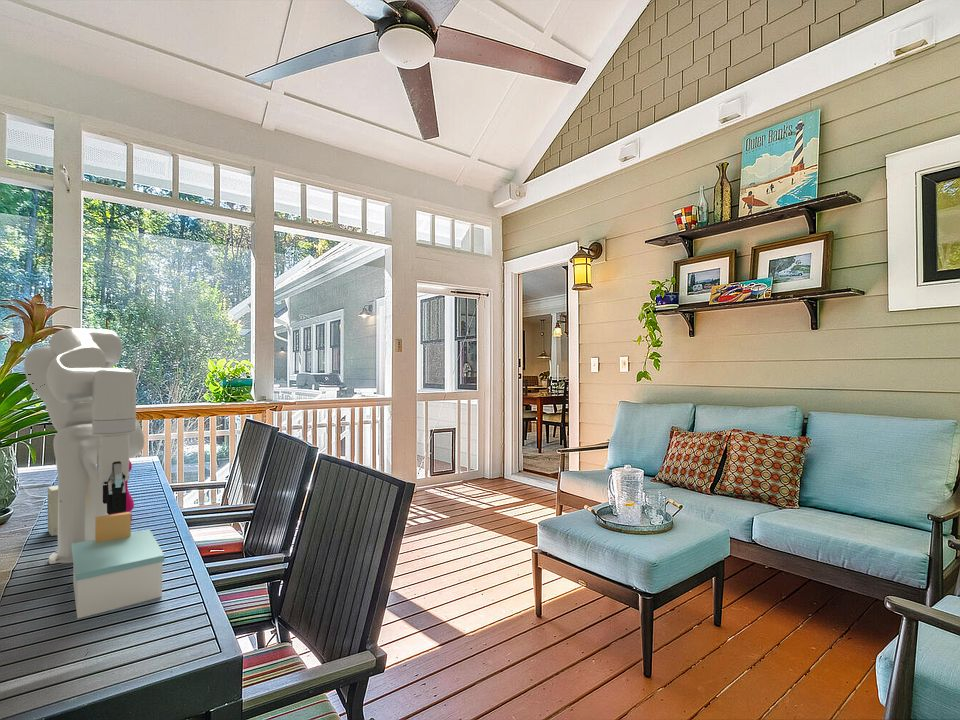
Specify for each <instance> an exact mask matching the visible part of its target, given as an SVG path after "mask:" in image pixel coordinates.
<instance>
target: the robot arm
mask: <svg viewBox="0 0 960 720" xmlns="http://www.w3.org/2000/svg"><path fill="white" fill-rule="evenodd" d="M122 353H123V342H122V339H121V337H120V336H119V334H118V333H116V332H115V331H113V330H110V329H99V328H98V329H96V328H79V327H78V328H75V327H74V328H73V327H72V328H71V327H69V328H63V329H60V330H58V331H56V332H55V333H53V334H52V336H51V337H50V339H49V345H48V346H47V345H46V346H41V347H35V348H34V349H32V350H30V351H28V352H27V354H26V355H25V357H24V361H23V369H24V373H25V377H26V380H27V383H28V384H29V386H30V388H31V389H32V391H33V392H34V391H35V392H34V393H35V394H36V395H37V396H38V397H39V399H41V401H42V402H44V405H45V407H46V410H47V412H48V415H49V416H48V417H49V419H50V422H51V423H52V426H53V427H54V429H55V431H56V433H55V436H54V437H53V445H52V446H53V452H54V458H55V464H56V469H57V470H56V471H57V486H58V535H57V550H56V551H54V552H53V553H51V554H50V555H49V556H48V563H49V564H50V565H54V564H70V563H73V556H72V543H78V542H83V541H89V540H95V517H99V516H105V515H108V514H114V513H120V512H125V511H126V492H125V481H126V480H127V479H128V474H130V471H129V460H130V459H131V458H134V457H136V456H138V455H140V454H141V452H142V451H143V449H144V446H145V435H144V432H143V430H142V427H141V425H140V423H139V421H138V419H137V417H136V416H137V377H136V372H135V371H133V370H131V369H127V368H121V367H114V366H115V365H116V364H117V362H118V361H119V360H120V358H121V357H122ZM28 374H31V375H28ZM32 383H34V384H32ZM44 384H45V385H44ZM42 385H43V386H42ZM40 386H41V387H40ZM36 389H37V390H36ZM128 480H129V479H128Z"/></svg>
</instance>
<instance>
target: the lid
mask: <svg viewBox="0 0 960 720" xmlns="http://www.w3.org/2000/svg"><path fill="white" fill-rule="evenodd" d="M131 514H132V513H131V512H124V513H118V514H112V515H105V516H99V517H95V540H89V541H83V542H78V543H72V556H73V562H72V563H73V564H74V572H75V579H76V581H78V580H82V579H87V578H91V577H96V576H100V575H105V574H109V573H114V572H118V571H123V570H127V569H132V568H137V567H141V566H146V565H150V564H155V563H159V562H162V563H163V562H165V554H164V552H163V551H162V548H161V546H160V545H159V544H158V542H157V540H156V538H155V536H154V535H153V533H152V531H151V530H150V529H144V530H139V531H134V532H131V528H132V523H131V522H132V520H131Z"/></svg>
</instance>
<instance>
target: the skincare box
mask: <svg viewBox="0 0 960 720" xmlns="http://www.w3.org/2000/svg"><path fill="white" fill-rule="evenodd" d="M48 532H49V533H48ZM47 533H48V534H49V535H50V536H51V537H54V536H58V485H51V486H48V487H47Z"/></svg>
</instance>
